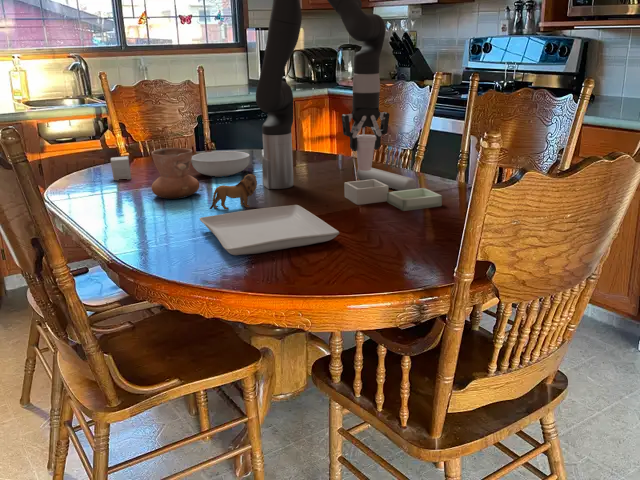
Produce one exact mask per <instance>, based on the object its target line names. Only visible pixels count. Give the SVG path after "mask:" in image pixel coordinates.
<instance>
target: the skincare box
mask: <svg viewBox="0 0 640 480" xmlns="http://www.w3.org/2000/svg"><path fill="white" fill-rule="evenodd" d="M129 160H130V159H129V156H128V155H127V156H126V155H125V156H115V157H110V164H111V171H112V172H111V173H112V177H113V181H114V180H117V181H120V180H119V179H127V180H132V174H131V168H130V167H131V166H130V161H129Z"/></svg>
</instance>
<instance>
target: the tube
mask: <svg viewBox="0 0 640 480" xmlns="http://www.w3.org/2000/svg"><path fill="white" fill-rule="evenodd" d="M356 178H357V179H358V180H359V181H361V180H371V179H375V180H377V181H379V182H381V183H383V184H386V185H388V186H389V189H391V188H392V190H394V189H395V190H394V191H402V190H411V189H418V187H417V182H416V180H415V179H414V178H412V177H409V176H405V175H403V174H402V175H400V174H397V173H393V172H390V171H387V170H382V169H378V168H374V167H371V170H369V171H361V170H358V169H357V171H356Z"/></svg>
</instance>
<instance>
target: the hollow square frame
mask: <svg viewBox="0 0 640 480" xmlns="http://www.w3.org/2000/svg"><path fill="white" fill-rule="evenodd" d="M389 189H390V188H389V186H388V185H386V184H383V183H381V182H379V181H377V180H375V179H371V180H355V181H354V180H353V181H347V182H344V198H346V199H347V200H349V201H350V202H351V203H353V204H355V205H357V206H359V205H368V204H376V203H383V202H387V192H389Z"/></svg>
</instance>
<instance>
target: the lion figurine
mask: <svg viewBox="0 0 640 480" xmlns="http://www.w3.org/2000/svg"><path fill="white" fill-rule="evenodd" d="M257 184H258V180H257V176H256V175H254V174H251V173H250V174H249V173H248V174H247V175H244V176H243V179H242V180H240V181H239V182H238V183H237V184H235V185H226V184H225V185H224V184H223V185H222V184H221V185H219V186H217V187H216V188H215V189H214V192H213V197H212V204H211V205H210V207H209V210H212V209H218V208H219V205H217V203H218V202H219V201H220V202H221V203H220V206H221V207H222V208H223V209H224V210H225V209H229V207H227V206H226V200H227V198H230V199H239V201H240V206H242V205H244V207H245V208H247V207H248V208H250V205H249V204H248V201H249V199H248V198H249V197H251V196H253V194H254V192H255V191H256V189H257ZM217 207H218V208H217ZM229 210H230V209H229Z"/></svg>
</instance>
